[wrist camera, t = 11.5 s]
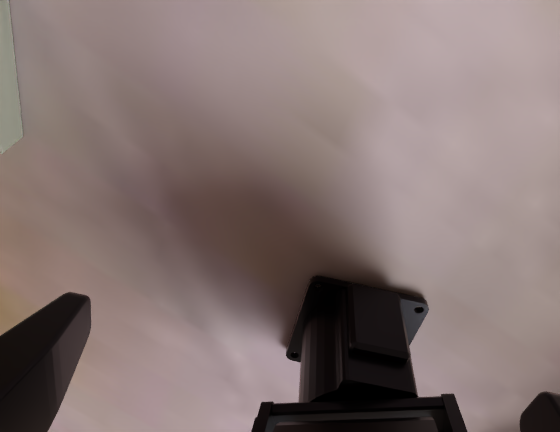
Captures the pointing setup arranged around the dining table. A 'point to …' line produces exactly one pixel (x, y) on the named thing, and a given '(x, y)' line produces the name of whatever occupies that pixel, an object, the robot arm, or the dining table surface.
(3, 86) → the green tray
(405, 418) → the robot arm
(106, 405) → the dining table surface
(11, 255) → the dining table surface
